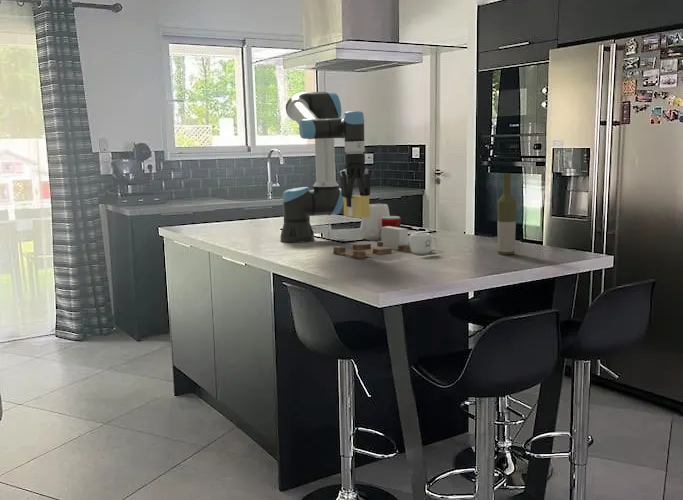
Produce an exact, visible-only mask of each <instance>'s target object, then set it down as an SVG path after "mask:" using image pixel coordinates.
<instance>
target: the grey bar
mask: <svg viewBox="0 0 683 500" xmlns="http://www.w3.org/2000/svg"><path fill="white" fill-rule="evenodd" d="M408 232H409V231H408V228H403V227H401V228H398V227H392V226H386V227H381V240H380V241H381V242H383V247H389V248H392V249H396V250H398V246H400V245H409V244H408V243H409V241H408V240H409V237H408ZM399 249H400V247H399Z"/></svg>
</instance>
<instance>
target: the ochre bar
mask: <svg viewBox="0 0 683 500" xmlns="http://www.w3.org/2000/svg"><path fill="white" fill-rule="evenodd" d="M352 198H353V199H354V216H349V212H348V207H347V201H346V198H345V197H343V217H347V218H356V219H362V218H369V217H370V211H369V204H370V195H368V196H360V194H358V195H357V194H352Z"/></svg>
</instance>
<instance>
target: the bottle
mask: <svg viewBox="0 0 683 500" xmlns="http://www.w3.org/2000/svg"><path fill="white" fill-rule="evenodd" d="M502 174H503V176H502V178H503V190H502V191H503V193H502V195H501V196H500V197H499V198H498V200H497V203H496V204H497V205H496V210H497V211H496V214H497V215H496V216H497V217H496V218H497V219H496V220H497V225H496V227H497V233H496V234H497V254H499V255H501V254H502V255H503V256H511V255H510V254H512V255H514V254H515V251H516V231H517V229H516V228H517V227H516V226H517V200H516V198H514V196H513V195H512V193H511V185H512V184H511V181H512V179H511V178H512V174H511V172H510V173H509V172H505V173H502Z"/></svg>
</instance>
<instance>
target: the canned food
mask: <svg viewBox="0 0 683 500" xmlns="http://www.w3.org/2000/svg"><path fill="white" fill-rule="evenodd" d="M401 224H402V223H401V216H398V215H390V216H384V217H382V227H386V226H392V227H398V228H402V227H401Z"/></svg>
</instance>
